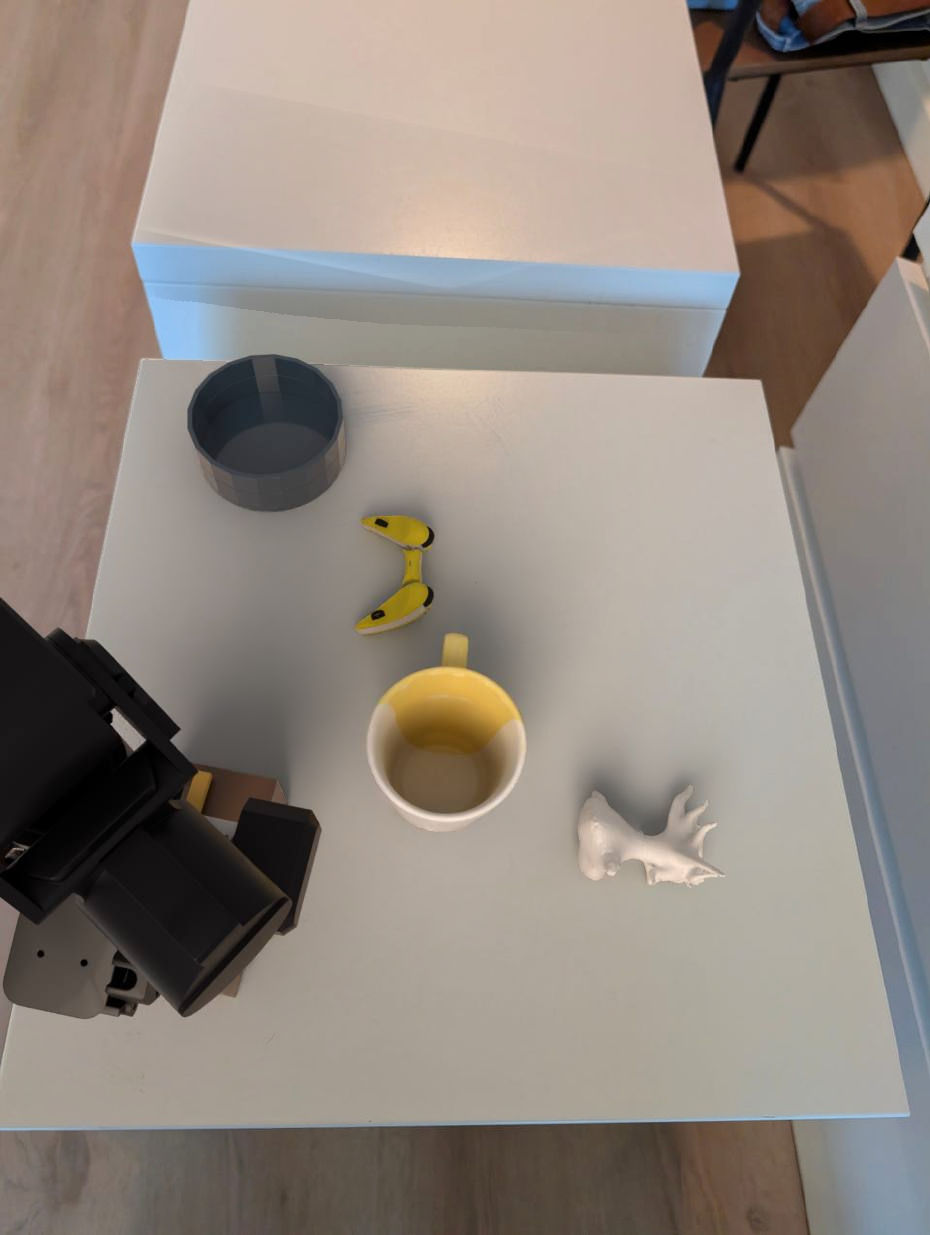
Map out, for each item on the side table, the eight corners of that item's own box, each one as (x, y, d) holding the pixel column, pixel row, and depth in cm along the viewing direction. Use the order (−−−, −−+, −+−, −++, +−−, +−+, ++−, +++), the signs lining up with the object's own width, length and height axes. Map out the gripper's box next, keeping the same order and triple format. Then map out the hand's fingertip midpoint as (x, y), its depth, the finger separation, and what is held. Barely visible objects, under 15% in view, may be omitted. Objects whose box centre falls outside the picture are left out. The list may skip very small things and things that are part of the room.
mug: (487, 872, 65) (503, 842, 55) (350, 829, 65) (343, 792, 56) (535, 699, 71) (557, 644, 61) (409, 661, 71) (411, 601, 62)
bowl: (179, 495, 76) (166, 460, 72) (224, 381, 81) (214, 341, 77) (325, 524, 76) (320, 491, 71) (360, 408, 81) (358, 370, 77)
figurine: (560, 771, 67) (693, 746, 66) (579, 851, 70) (705, 829, 69) (573, 860, 58) (727, 833, 57) (594, 948, 61) (740, 924, 60)
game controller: (442, 632, 71) (427, 613, 68) (367, 642, 73) (349, 625, 70) (443, 522, 76) (428, 501, 73) (372, 535, 77) (355, 514, 74)
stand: (102, 969, 60) (68, 960, 54) (166, 780, 66) (142, 752, 60) (235, 997, 60) (216, 991, 54) (288, 805, 66) (277, 779, 59)
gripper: (-206, 949, 37) (-42, 976, 51) (241, 1043, 37) (283, 1044, 51) (-85, 697, 42) (35, 785, 56) (312, 779, 42) (332, 846, 56)
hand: (167, 866), depth 55 cm, fingers open, 9 cm apart
